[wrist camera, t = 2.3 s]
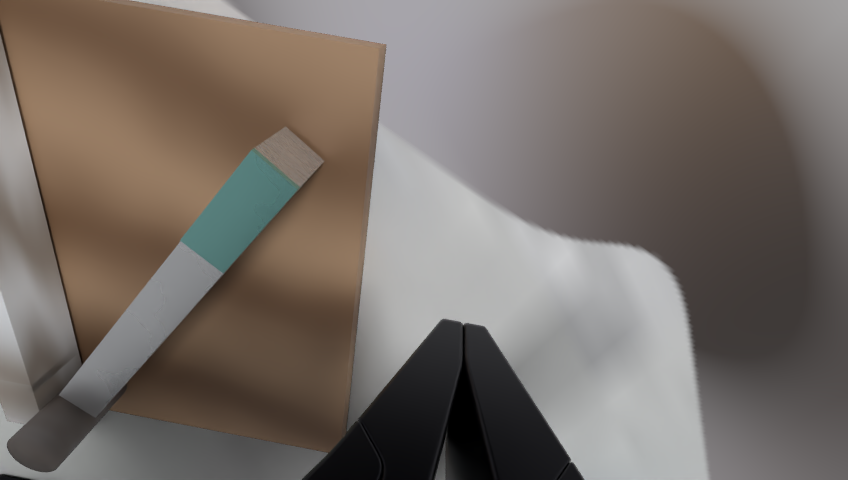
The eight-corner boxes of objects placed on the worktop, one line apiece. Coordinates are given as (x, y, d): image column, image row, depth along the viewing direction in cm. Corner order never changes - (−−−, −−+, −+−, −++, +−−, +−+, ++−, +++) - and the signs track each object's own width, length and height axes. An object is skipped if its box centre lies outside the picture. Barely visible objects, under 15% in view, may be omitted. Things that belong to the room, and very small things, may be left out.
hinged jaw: (133, 375, 21) (91, 421, 19) (101, 354, 21) (54, 399, 19) (324, 161, 16) (297, 189, 13) (285, 126, 15) (251, 149, 13)
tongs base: (345, 433, 24) (313, 540, 19) (-7, 366, 24) (-123, 454, 19) (386, 44, 15) (345, 67, 11) (-157, -49, 16) (-424, -67, 11)
